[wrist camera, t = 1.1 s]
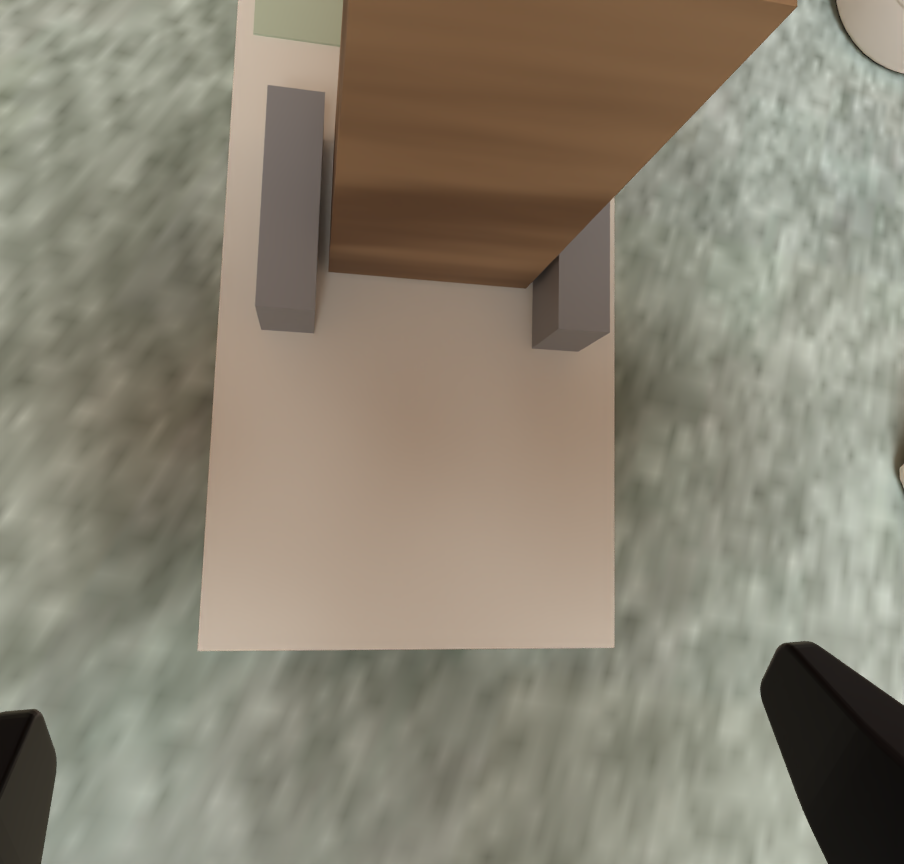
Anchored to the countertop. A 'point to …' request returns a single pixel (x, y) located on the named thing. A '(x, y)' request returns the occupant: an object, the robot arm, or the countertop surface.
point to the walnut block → (511, 122)
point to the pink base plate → (393, 409)
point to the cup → (876, 29)
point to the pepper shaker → (902, 474)
